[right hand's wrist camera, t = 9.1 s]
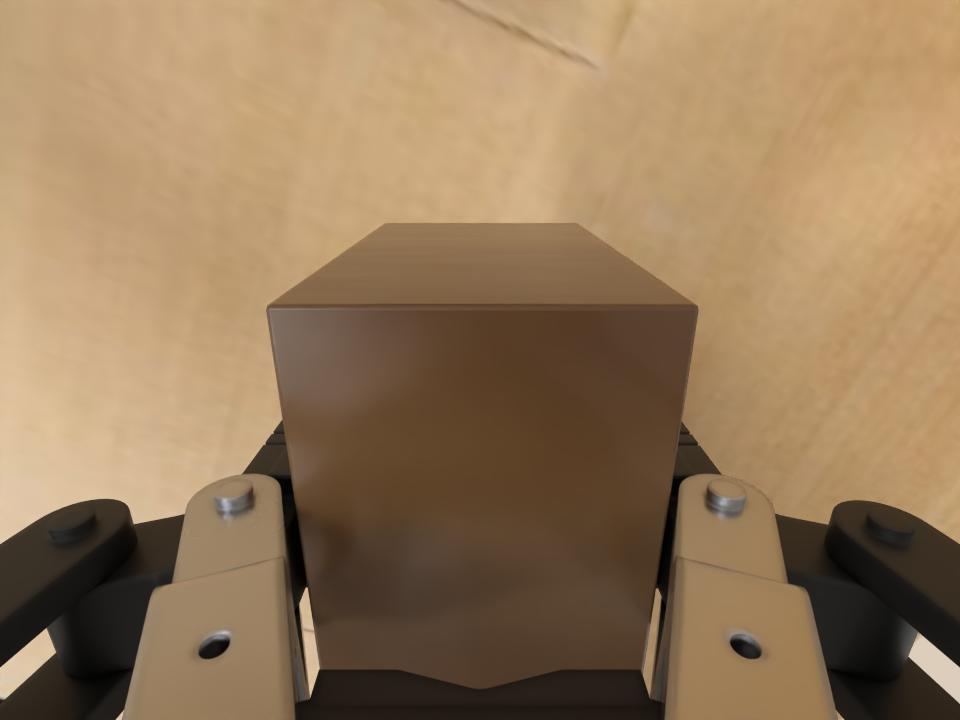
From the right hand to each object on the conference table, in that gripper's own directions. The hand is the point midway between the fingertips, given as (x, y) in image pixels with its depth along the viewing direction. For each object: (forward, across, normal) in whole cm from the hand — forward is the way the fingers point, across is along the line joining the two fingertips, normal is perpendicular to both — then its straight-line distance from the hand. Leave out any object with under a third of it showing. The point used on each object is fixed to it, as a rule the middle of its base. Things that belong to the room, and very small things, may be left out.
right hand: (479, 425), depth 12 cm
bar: (+4, 0, +7) cm, 8 cm away
